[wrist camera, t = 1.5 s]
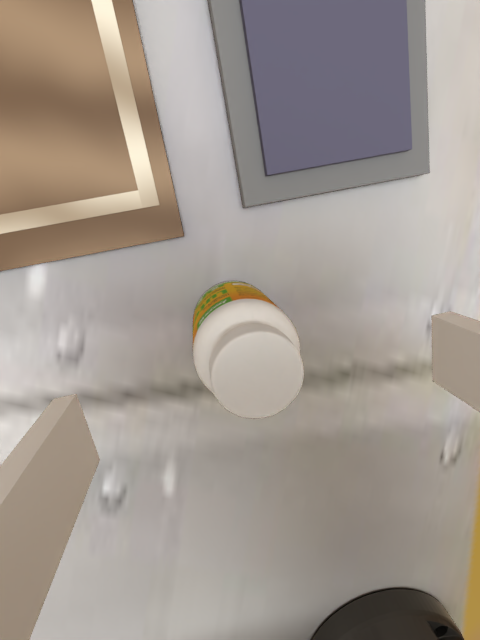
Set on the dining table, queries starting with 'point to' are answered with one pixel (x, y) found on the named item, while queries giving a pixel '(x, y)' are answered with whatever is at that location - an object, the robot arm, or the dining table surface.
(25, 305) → the dining table surface
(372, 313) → the dining table surface
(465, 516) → the dining table surface
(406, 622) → the robot arm
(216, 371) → the supplement bottle
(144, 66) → the marking board
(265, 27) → the ink pad
